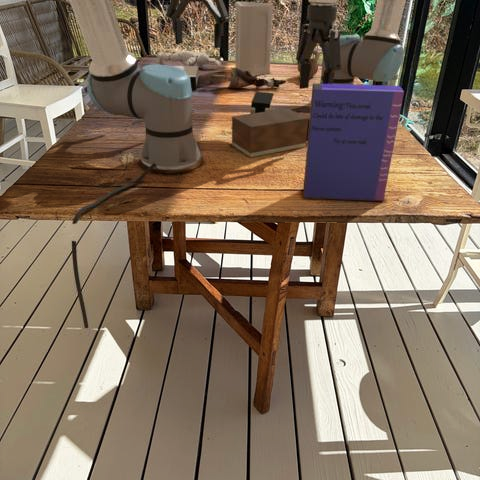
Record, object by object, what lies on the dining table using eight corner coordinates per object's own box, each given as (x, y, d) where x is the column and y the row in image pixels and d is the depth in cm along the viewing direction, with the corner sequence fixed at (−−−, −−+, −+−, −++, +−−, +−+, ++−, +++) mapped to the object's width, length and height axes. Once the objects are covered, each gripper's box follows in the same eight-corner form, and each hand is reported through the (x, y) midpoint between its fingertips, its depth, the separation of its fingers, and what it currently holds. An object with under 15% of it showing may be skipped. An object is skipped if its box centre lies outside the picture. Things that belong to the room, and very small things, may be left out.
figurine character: (269, 131, 150) (273, 112, 162) (270, 107, 146) (274, 90, 157) (248, 129, 151) (253, 111, 163) (248, 106, 146) (254, 89, 158)
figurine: (210, 87, 179) (288, 95, 182) (212, 65, 176) (291, 73, 180) (208, 84, 201) (278, 91, 205) (210, 64, 198) (280, 71, 202)
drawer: (309, 129, 146) (310, 108, 142) (328, 138, 139) (330, 116, 135) (243, 140, 136) (244, 118, 133) (260, 150, 129) (261, 128, 126)
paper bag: (273, 76, 210) (276, 6, 196) (239, 77, 209) (240, 6, 194) (266, 67, 226) (268, 2, 212) (235, 67, 225) (235, 1, 210)
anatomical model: (307, 83, 216) (306, 83, 202) (293, 69, 215) (291, 69, 201) (327, 61, 212) (327, 60, 198) (313, 47, 211) (312, 45, 197)
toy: (176, 74, 211) (175, 58, 207) (152, 64, 228) (150, 49, 225) (222, 68, 223) (222, 53, 219) (196, 59, 240) (196, 44, 237)
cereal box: (379, 191, 109) (398, 84, 97) (383, 201, 105) (404, 90, 93) (303, 188, 110) (312, 82, 98) (304, 197, 106) (314, 88, 94)
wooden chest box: (285, 135, 143) (287, 108, 139) (305, 146, 135) (308, 118, 131) (231, 144, 135) (231, 116, 131) (250, 157, 127) (251, 127, 123)
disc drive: (151, 89, 187) (150, 76, 185) (158, 77, 206) (157, 64, 204) (196, 90, 188) (195, 77, 185) (199, 77, 207) (198, 65, 204)
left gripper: (241, -35, 131) (240, 47, 142) (166, -37, 141) (170, 40, 151) (229, -35, 125) (228, 51, 136) (151, -37, 135) (156, 43, 146)
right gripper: (363, 7, 116) (351, 99, 128) (309, 0, 133) (302, 82, 144) (339, 8, 113) (328, 103, 125) (286, 0, 130) (281, 84, 141)
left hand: (198, 45), depth 144 cm, fingers open, 13 cm apart
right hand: (314, 92), depth 134 cm, fingers open, 10 cm apart
